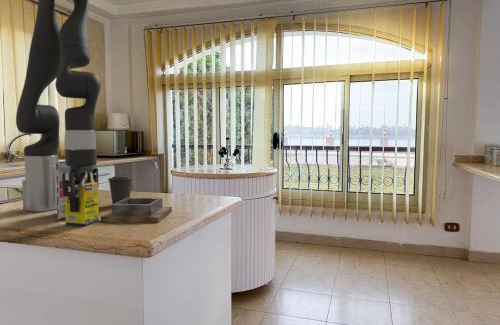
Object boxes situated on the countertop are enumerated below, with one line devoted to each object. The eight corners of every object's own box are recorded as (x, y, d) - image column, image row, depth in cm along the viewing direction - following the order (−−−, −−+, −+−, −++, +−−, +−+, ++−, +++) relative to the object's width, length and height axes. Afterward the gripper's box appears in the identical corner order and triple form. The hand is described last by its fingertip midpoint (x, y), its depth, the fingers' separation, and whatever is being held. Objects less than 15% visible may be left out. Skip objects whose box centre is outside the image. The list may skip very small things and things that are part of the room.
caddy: (100, 221, 95) (100, 205, 94) (121, 210, 109) (121, 196, 108) (158, 222, 94) (158, 206, 94) (171, 211, 108) (171, 197, 108)
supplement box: (85, 226, 89) (83, 185, 89) (65, 225, 91) (63, 184, 90) (99, 221, 95) (98, 182, 94) (80, 220, 96) (79, 181, 96)
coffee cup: (133, 202, 123) (133, 174, 122) (133, 206, 115) (133, 177, 115) (109, 203, 120) (108, 175, 120) (107, 208, 113) (106, 177, 112)
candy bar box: (77, 218, 98) (75, 161, 97) (57, 220, 96) (55, 161, 95) (79, 211, 108) (77, 158, 107) (61, 212, 106) (59, 159, 105)
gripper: (81, 146, 99) (82, 203, 100) (50, 148, 84) (52, 214, 86) (106, 146, 98) (108, 203, 100) (80, 148, 84) (82, 215, 85)
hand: (82, 208), depth 93 cm, fingers open, 7 cm apart
